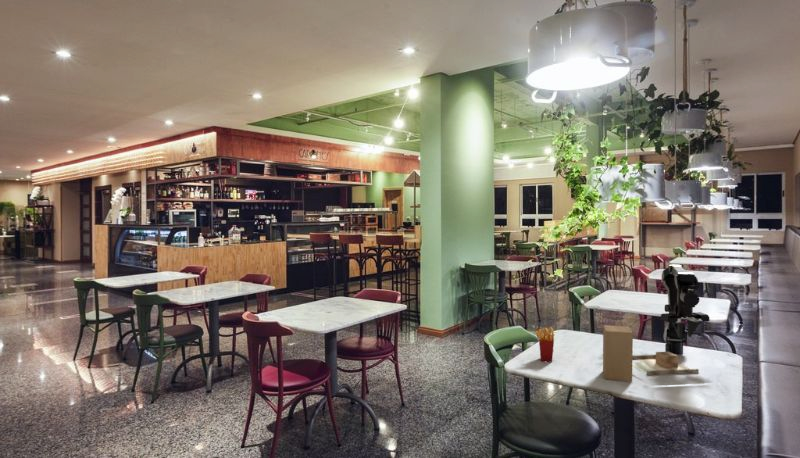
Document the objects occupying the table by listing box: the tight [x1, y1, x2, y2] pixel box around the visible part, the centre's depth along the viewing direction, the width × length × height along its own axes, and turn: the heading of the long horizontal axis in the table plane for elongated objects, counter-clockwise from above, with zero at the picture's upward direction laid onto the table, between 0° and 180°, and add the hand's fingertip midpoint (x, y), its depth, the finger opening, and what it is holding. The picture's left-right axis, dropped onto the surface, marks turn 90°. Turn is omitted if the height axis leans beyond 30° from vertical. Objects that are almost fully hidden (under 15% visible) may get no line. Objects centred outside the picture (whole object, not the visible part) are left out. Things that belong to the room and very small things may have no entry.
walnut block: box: [655, 351, 679, 368], centre depth 199 cm, size 6×6×5 cm
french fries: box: [535, 326, 555, 363], centre depth 211 cm, size 9×8×15 cm
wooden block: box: [602, 324, 634, 383], centre depth 188 cm, size 10×10×20 cm
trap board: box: [632, 353, 700, 376], centre depth 198 cm, size 22×20×2 cm
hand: (684, 336), depth 199 cm, fingers open, 4 cm apart
